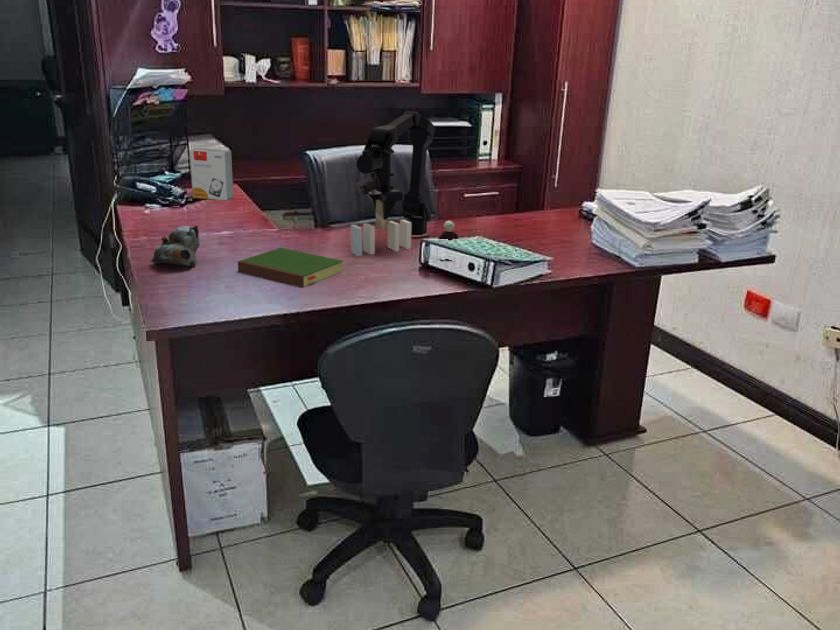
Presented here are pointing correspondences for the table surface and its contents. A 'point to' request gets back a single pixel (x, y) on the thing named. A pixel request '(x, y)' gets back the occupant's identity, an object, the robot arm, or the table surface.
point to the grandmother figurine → (448, 231)
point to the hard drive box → (211, 173)
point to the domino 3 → (380, 216)
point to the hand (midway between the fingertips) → (381, 217)
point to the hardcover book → (290, 266)
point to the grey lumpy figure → (178, 247)
